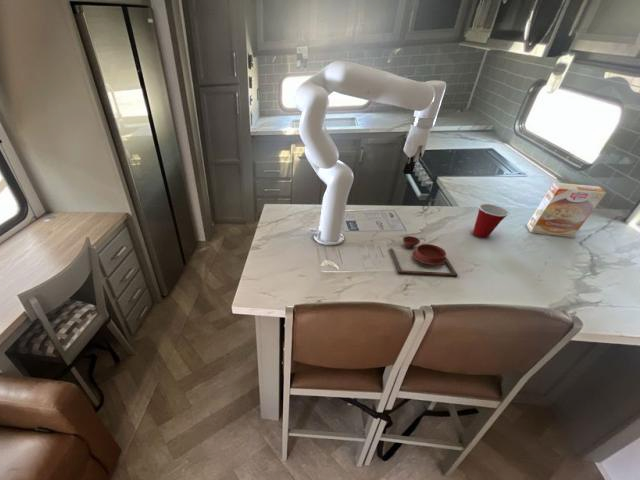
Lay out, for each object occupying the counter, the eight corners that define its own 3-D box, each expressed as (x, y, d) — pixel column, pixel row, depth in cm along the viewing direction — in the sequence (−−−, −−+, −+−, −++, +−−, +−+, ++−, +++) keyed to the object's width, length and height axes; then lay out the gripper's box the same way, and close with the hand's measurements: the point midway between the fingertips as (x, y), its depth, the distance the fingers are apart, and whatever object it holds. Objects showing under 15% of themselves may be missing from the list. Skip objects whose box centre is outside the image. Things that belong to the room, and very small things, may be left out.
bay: (398, 274, 118) (399, 271, 117) (389, 250, 130) (390, 248, 129) (456, 276, 115) (457, 274, 114) (441, 252, 127) (442, 250, 127)
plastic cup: (500, 242, 131) (515, 215, 124) (471, 240, 133) (484, 213, 125) (490, 229, 139) (503, 203, 131) (463, 227, 141) (475, 202, 133)
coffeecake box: (530, 232, 136) (558, 188, 123) (526, 225, 141) (552, 181, 128) (573, 238, 131) (607, 192, 119) (567, 230, 136) (599, 185, 124)
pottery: (424, 271, 118) (428, 261, 115) (392, 245, 133) (395, 235, 130) (451, 266, 120) (455, 256, 117) (416, 240, 135) (419, 231, 132)
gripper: (406, 117, 120) (393, 167, 132) (417, 127, 109) (402, 180, 121) (427, 117, 119) (412, 167, 131) (440, 127, 108) (422, 180, 120)
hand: (407, 173), depth 126 cm, fingers closed
